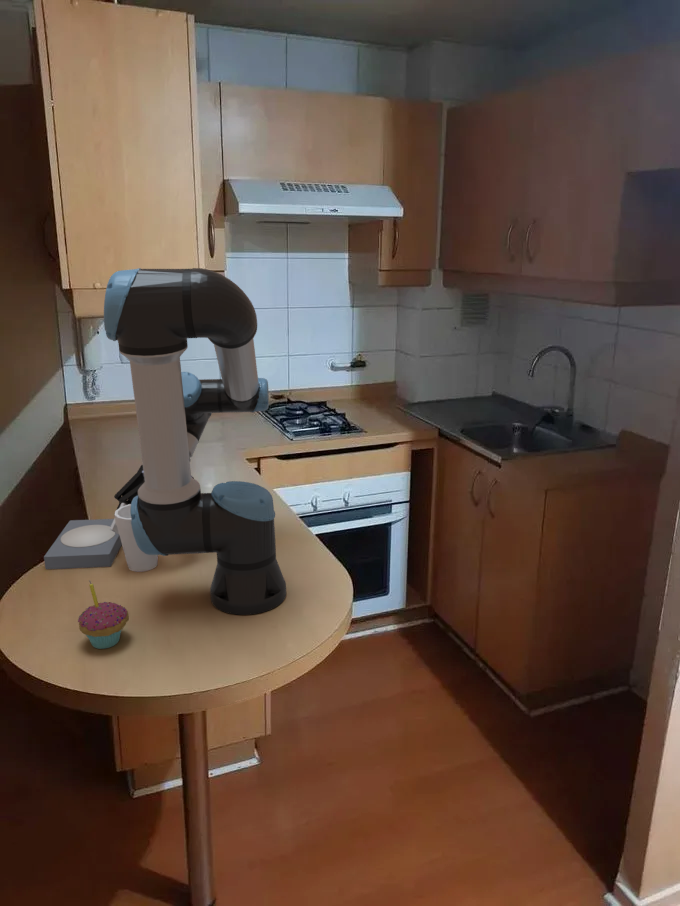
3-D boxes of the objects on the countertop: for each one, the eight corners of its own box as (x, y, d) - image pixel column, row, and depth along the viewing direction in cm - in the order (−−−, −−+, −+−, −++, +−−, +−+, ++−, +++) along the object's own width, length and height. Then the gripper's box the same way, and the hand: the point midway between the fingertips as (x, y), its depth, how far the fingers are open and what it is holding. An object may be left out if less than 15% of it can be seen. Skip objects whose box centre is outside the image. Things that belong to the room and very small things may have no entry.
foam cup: (148, 552, 162) (142, 499, 158) (173, 563, 157) (168, 509, 153) (112, 566, 155) (105, 512, 151) (137, 579, 150) (131, 523, 146)
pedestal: (110, 566, 156) (109, 552, 155) (45, 569, 155) (43, 555, 154) (129, 529, 175) (127, 517, 174) (71, 531, 174) (69, 519, 173)
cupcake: (71, 649, 125) (62, 589, 122) (102, 625, 133) (95, 567, 129) (110, 659, 122) (103, 597, 119) (140, 633, 130) (134, 575, 126)
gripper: (228, 467, 160) (193, 553, 152) (142, 453, 170) (104, 533, 162) (213, 451, 154) (175, 540, 146) (124, 437, 164) (84, 520, 156)
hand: (138, 537), depth 154 cm, fingers open, 13 cm apart
